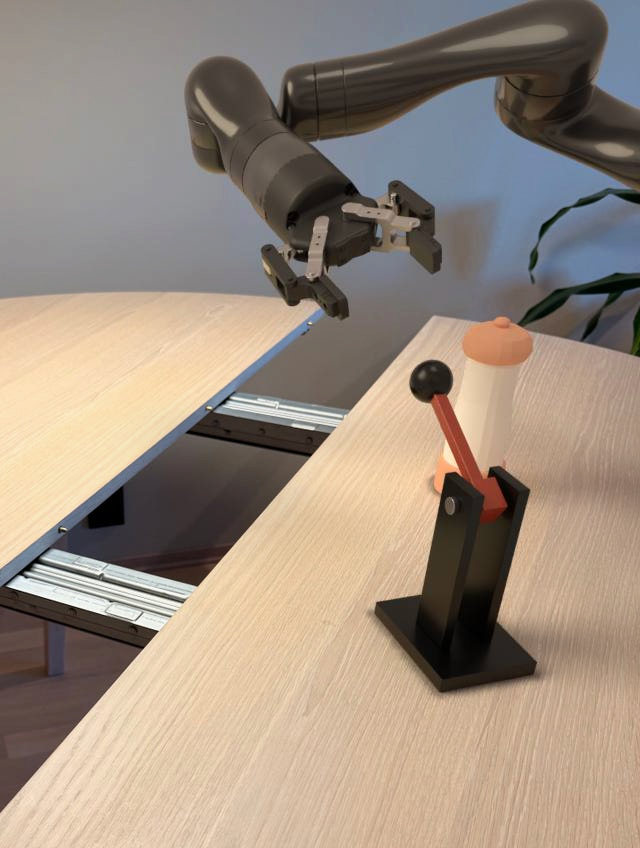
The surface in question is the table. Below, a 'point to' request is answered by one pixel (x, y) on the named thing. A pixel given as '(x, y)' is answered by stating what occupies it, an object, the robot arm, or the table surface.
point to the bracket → (464, 591)
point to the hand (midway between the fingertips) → (390, 287)
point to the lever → (455, 432)
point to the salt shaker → (487, 393)
